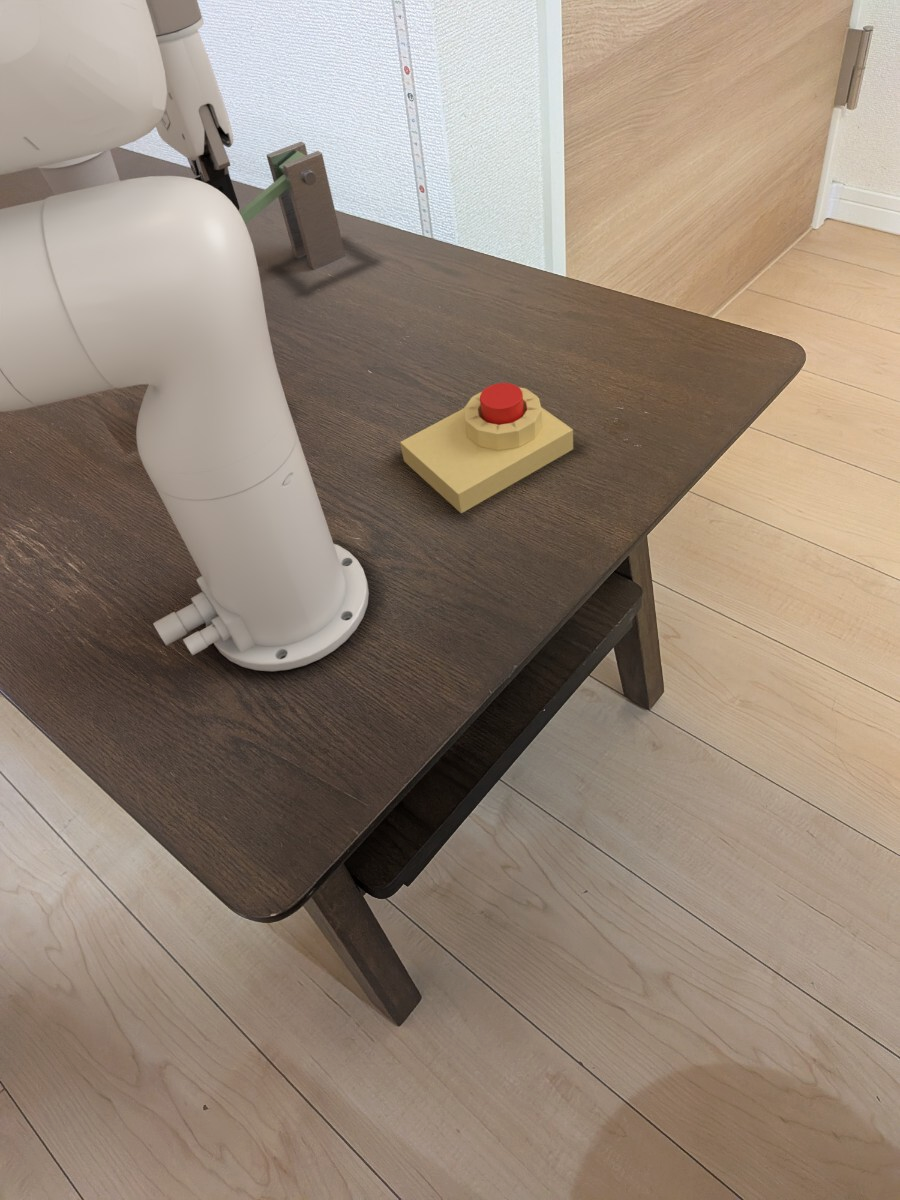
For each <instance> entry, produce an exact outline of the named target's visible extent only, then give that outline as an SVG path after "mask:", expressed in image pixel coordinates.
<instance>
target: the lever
mask: <svg viewBox="0 0 900 1200" xmlns="http://www.w3.org/2000/svg"><path fill="white" fill-rule="evenodd" d="M303 156H306V155H304V154H302V153H301V152H299V151H297V152H296V153H295V154H293V155H292V156H291V157H290V158H289V159H287V160H286V161H285V162H284V163H283V164H285V163H288V162H291V161H293V160H296V159H298V158H301V157H303ZM283 164H281V165H280V166H279V168H280V170H281V171H282V173H283V175H282V176H281V177H280V178H279V179H277V180H276V181H275V182H274V181H273V183H271V184H270V185H269V186H267V187H266V188H265V189H264V190H263V191H261V193H259V194H258V195H257V196H256V197H254V198H253V199H252V200H251V201H250V202H249V203H247V204H246V205H245V206H244V207H242V208H241V209H239V210H238V211H239V213H240V215H241V216H242V219H243V221H244V223H245V225H247V223H249V221H251V220H252V219H253V218H254V217H255V216H257V215H258V214H259V213H261V211H263V210H264V209H265V208H266V207H268V206H269V205H270V204H271V203H272V202H273V201H275V200H276V199H278V196H279V195H281V194H282V193H283V192H284V191H285V190H287V189H288V184H287V180H286V176H285V173H284V169H283Z"/></svg>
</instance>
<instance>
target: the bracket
mask: <svg viewBox="0 0 900 1200" xmlns="http://www.w3.org/2000/svg"><path fill="white" fill-rule="evenodd" d="M297 151H299V152H301V153H302V154H304V155H306V156H303V157H301V158H298V159H296V160H293V161H291V162H288V163H285V164H283V163H284V162H285V161H286V160H287V159H289V158H290V157H291V156H292V155H293V154H295V153H296V152H297ZM266 158H267V162H268V166H269V169H270V174H271V177H272V180H273V183H274V182H275V181H276V180H277V179H279V178H280V177H281V176H282V175H283V173H282V171H281V170H280V168H279V166H280V165H281V164H283V169H284V173H285V176H286V180H287V184H288V189H287V190H285V191H284V192H283V193H282V194H281V195H279V196H278V197H277V199H278V202H279V206H280V210H281V213H282V217H283V220H284V224H285V226H286V231H287V235H288V238H289V242H290V246H291V249H292V252H293V256H294V257H295V258H296V259H300V258H304V257H305V256H306V259H307V262H308V266H309V268H310V269H311V270H313V271H315V270H317V269H320V268H323V267H324V266H327V265H328V264H332V263H333V262H336V261H338V260H340V259H343V258H345V257H346V252H345V248H344V243H343V239H342V235H341V230H340V225H339V222H338V221H339V220H338V217H337V213H336V209H335V204H334V200H333V195H332V190H331V186H330V181H329V178H328V173H327V169H326V165H325V160H324V156H323V153H322V152H320V151H319V150H316V151H314V152H311V153H308V150H307V147H306V143H304V142H303V141H299V142H296V143H293V144H290V145H288V146H285V147H283V148H280V149H277V150H275V151H272V152H270V153H267V154H266Z"/></svg>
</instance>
